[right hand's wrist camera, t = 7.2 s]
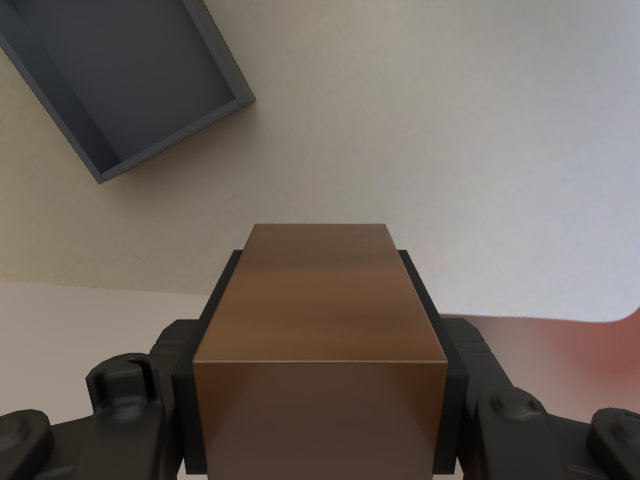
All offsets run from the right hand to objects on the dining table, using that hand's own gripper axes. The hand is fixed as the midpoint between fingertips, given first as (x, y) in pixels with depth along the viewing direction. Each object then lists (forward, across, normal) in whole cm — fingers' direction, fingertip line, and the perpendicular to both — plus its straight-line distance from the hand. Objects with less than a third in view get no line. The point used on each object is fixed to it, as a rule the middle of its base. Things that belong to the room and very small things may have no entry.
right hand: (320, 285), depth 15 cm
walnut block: (0, 0, 0) cm, 0 cm away
